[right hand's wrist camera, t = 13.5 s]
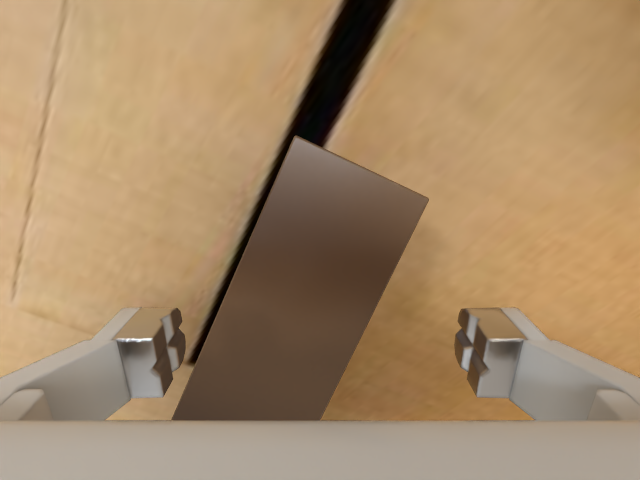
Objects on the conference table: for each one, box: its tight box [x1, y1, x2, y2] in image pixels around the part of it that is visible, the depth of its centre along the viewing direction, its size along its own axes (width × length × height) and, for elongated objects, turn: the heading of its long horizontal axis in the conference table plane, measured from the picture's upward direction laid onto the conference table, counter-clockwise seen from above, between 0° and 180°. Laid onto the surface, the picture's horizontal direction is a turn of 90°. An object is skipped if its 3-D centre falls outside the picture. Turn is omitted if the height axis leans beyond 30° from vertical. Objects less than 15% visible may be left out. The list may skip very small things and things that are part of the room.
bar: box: [172, 136, 429, 421], centre depth 19 cm, size 28×6×8 cm, turn 155°
